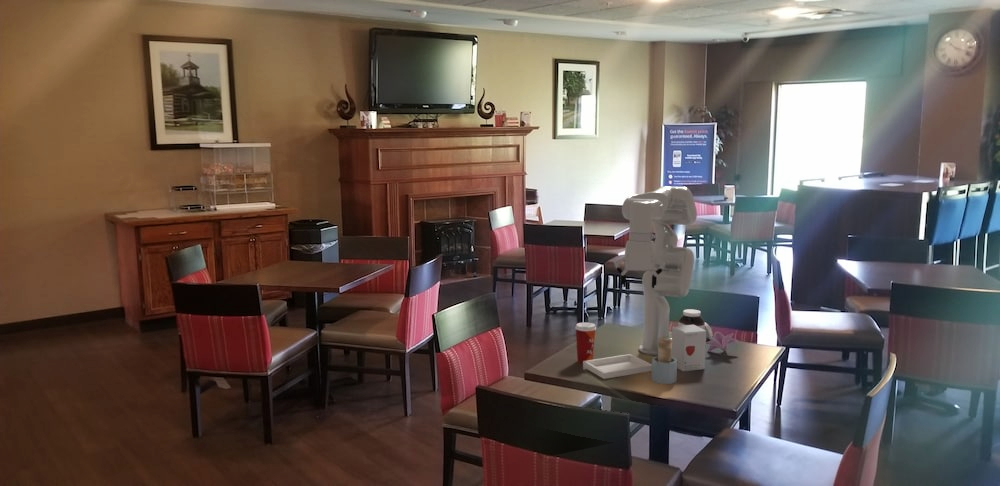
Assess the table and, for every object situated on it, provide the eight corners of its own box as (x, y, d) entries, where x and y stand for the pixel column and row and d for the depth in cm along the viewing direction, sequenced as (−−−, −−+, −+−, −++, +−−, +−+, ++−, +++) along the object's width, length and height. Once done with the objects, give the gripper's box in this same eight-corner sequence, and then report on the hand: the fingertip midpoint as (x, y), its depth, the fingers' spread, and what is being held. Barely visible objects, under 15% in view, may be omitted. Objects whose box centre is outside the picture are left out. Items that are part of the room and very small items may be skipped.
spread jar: (674, 338, 296) (675, 310, 294) (690, 333, 303) (691, 305, 302) (700, 345, 287) (701, 316, 285) (716, 339, 295) (717, 311, 293)
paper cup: (594, 365, 263) (595, 328, 261) (573, 364, 265) (574, 327, 262) (596, 358, 271) (597, 322, 268) (575, 357, 272) (576, 321, 270)
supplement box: (682, 374, 254) (683, 332, 251) (669, 366, 262) (671, 325, 260) (705, 371, 256) (707, 330, 254) (692, 363, 264) (693, 323, 262)
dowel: (665, 376, 248) (666, 336, 246) (673, 380, 244) (674, 340, 242) (654, 378, 246) (655, 338, 244) (662, 382, 242) (663, 342, 240)
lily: (743, 357, 275) (737, 332, 278) (739, 353, 265) (732, 327, 268) (711, 363, 280) (705, 339, 283) (706, 360, 269) (700, 334, 272)
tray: (630, 361, 267) (630, 353, 267) (653, 373, 254) (653, 365, 254) (582, 369, 259) (583, 361, 259) (603, 381, 247) (603, 373, 246)
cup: (666, 377, 251) (667, 354, 249) (681, 384, 243) (681, 361, 242) (646, 380, 248) (647, 357, 246) (661, 388, 240) (661, 364, 239)
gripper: (665, 236, 250) (663, 285, 253) (614, 235, 253) (613, 284, 255) (667, 239, 243) (665, 289, 245) (614, 238, 245) (613, 288, 248)
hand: (638, 286), depth 250 cm, fingers open, 9 cm apart
